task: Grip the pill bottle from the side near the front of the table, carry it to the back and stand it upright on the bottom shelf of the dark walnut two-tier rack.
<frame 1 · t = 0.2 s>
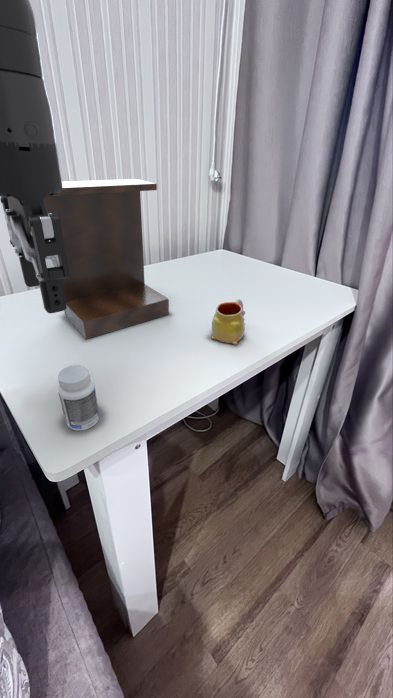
hand: (45, 297, 40), 18 cm above the table, tool pointing down, fingers open, 8 cm apart
mug: (231, 332, 72), on the table
shelf: (118, 315, 76), on the table
pill bottle: (83, 420, 48), on the table
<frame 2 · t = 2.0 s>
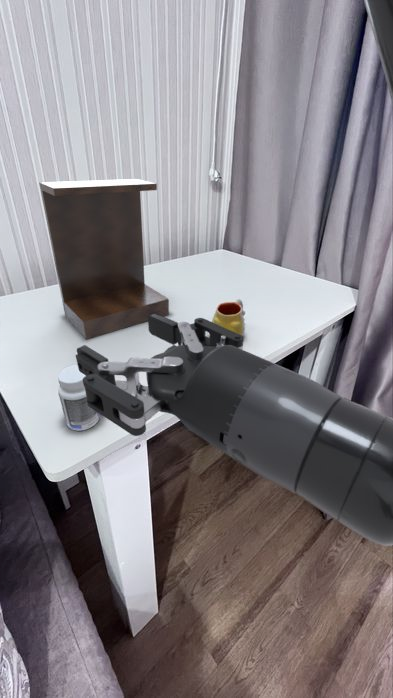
hand: (118, 337, 33), 18 cm above the table, tool horizontal, fingers open, 8 cm apart
nothing on the table moved.
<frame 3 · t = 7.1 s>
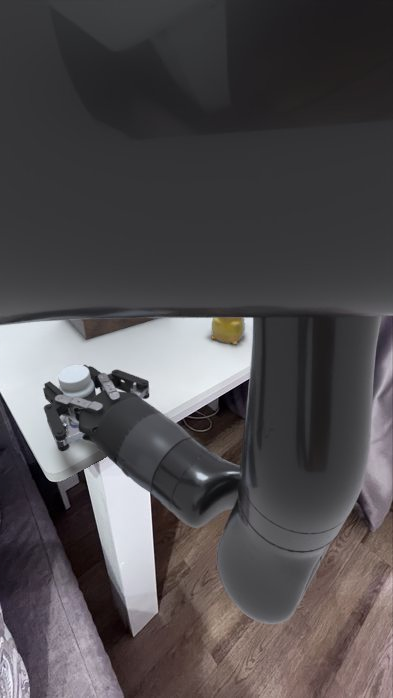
hand: (66, 379, 46), 6 cm above the table, tool horizontal, fingers closed on pill bottle, 4 cm apart
pill bottle: (83, 420, 48), on the table, touching gripper
everything else where it was.
when the fingers open (10 cm above the table, at t = 15.4 s): pill bottle stays where it is, resting on shelf.
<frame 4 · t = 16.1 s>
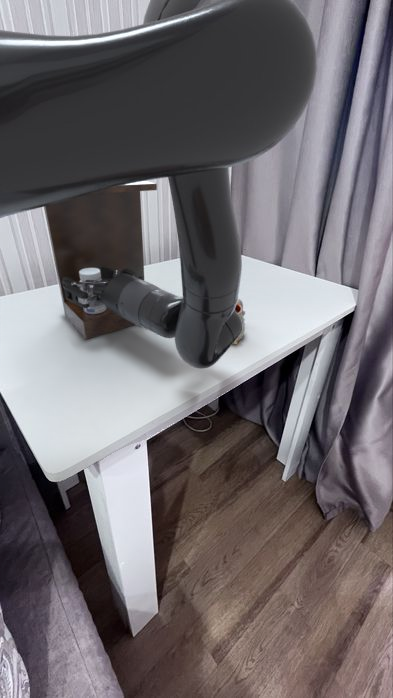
hand: (84, 276, 67), 11 cm above the table, tool horizontal, fingers open, 8 cm apart
pill bottle: (95, 310, 69), point 4 cm above the table, touching shelf
everything else where it was.
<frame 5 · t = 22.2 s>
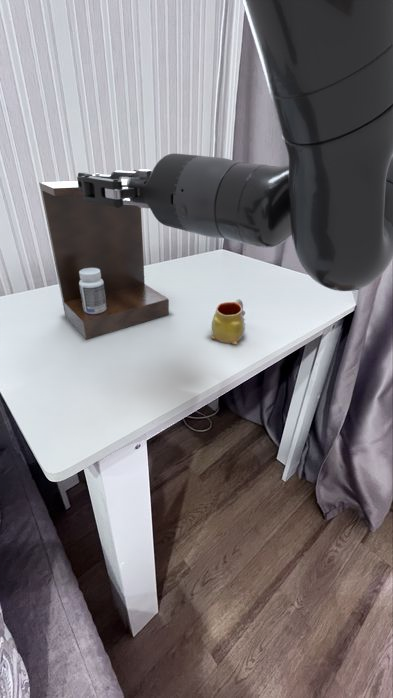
hand: (109, 180, 44), 30 cm above the table, tool horizontal, fingers open, 8 cm apart
nothing on the table moved.
at the end: pill bottle inside the target area on the shelf (6.1 cm from its centre), point 3.8 cm above the shelf's base; pill bottle tilted 0°; the gripper is holding nothing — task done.
